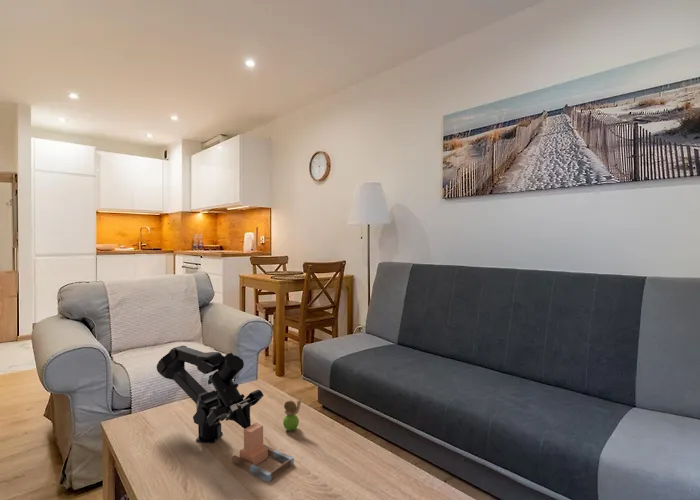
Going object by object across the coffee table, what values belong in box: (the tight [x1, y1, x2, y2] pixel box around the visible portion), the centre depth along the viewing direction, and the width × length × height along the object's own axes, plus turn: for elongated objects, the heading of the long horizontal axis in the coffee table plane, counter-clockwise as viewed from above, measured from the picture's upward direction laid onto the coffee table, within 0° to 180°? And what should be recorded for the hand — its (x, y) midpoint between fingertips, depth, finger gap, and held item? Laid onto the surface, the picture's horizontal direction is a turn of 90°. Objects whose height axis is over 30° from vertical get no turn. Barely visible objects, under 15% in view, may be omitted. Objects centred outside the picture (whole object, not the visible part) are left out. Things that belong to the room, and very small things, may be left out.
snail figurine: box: [282, 396, 302, 431], centre depth 142 cm, size 5×6×12 cm
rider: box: [239, 422, 269, 466], centre depth 124 cm, size 6×6×10 cm
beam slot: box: [231, 443, 295, 483], centre depth 122 cm, size 16×10×2 cm
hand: (249, 430), depth 125 cm, fingers closed
